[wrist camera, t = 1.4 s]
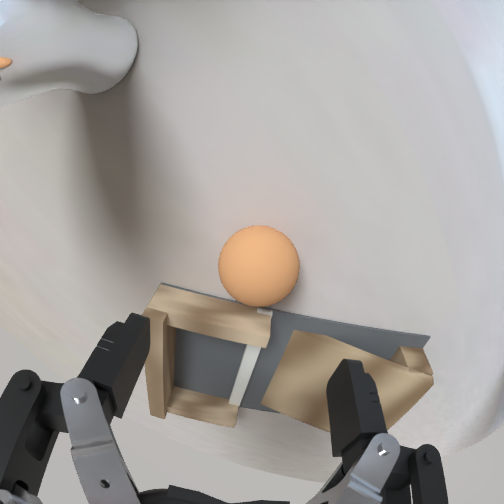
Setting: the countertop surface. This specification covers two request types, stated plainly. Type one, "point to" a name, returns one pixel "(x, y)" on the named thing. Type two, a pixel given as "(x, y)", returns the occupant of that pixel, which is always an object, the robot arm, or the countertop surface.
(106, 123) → the countertop surface
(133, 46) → the beer glass
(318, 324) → the mat
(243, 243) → the ball
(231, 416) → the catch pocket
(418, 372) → the ramp
